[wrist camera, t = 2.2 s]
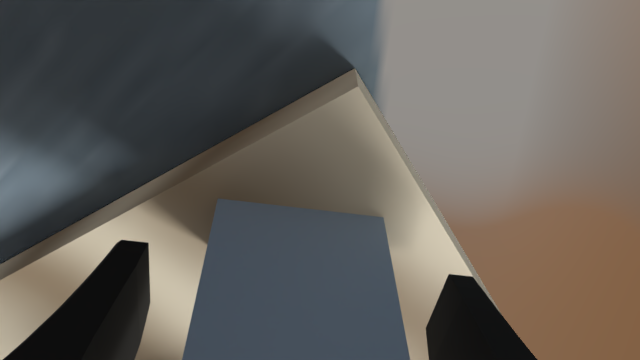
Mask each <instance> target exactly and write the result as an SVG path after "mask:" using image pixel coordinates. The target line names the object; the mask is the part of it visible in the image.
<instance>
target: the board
mask: <svg viewBox="0 0 640 360" xmlns="http://www.w3.org/2000/svg"><path fill="white" fill-rule="evenodd" d="M218 199H227V200H236V201H245V202H253V203H262V204H271V205H280V206H288V207H297V208H306V209H315V210H324V211H332V212H341V213H350V214H359V215H367V216H376V217H383V218H384V223H385V228H386V233H387V239H388V244H389V249H390V255H391V260H392V265H393V271H394V276H395V281H396V287H397V292H398V297H399V303H400V308H401V313H402V319H403V324H404V329H405V335H406V340H407V345H408V351H409V356H410V360H429V356H428V347H427V337H426V326H427V324H428V322H429V319H430V317H431V315H432V312H433V310H434V307H435V305H436V303H437V300H438V298H439V296H440V293H441V291H442V289H443V286H444V284H445V282H446V279H447V277H448V275H449V274H453V275H463V276H473V278H474V279H475V280H476V282H477V283H478V284H479V285H480V287H481V288H482V289H483V291H484V292H485V293H486V295H487V296H488V297H489V299H490V300H491V301H492V303H493V304H494V305H495V303H494V301H493V300H492V298H491V296H490V294H489V293H488V291H487V289H486V288H485V286H484V284H483V283H482V281H481V279H480V278H479V276H478V275H477V273H476V271H475V269H474V268H473V266H472V264H471V263H470V261H469V259H468V257H467V256H466V254H465V253H464V251H463V249H462V247H461V246H460V245H459V242H458V241H457V239H456V237H455V236H454V234H453V232H452V231H451V229H450V227H449V226H448V224H447V222H446V221H445V219H444V217H443V216H442V214H441V212H440V210H439V209H438V207H437V205H436V204H435V202H434V200H433V199H432V197H431V195H430V194H429V192H428V190H427V189H426V187H425V185H424V184H423V182H422V181H421V179H420V177H419V175H418V174H417V172H416V170H415V169H414V167H413V165H412V163H411V162H410V160H409V158H408V157H407V155H406V153H405V152H404V150H403V148H402V147H401V145H400V143H399V142H398V140H397V138H396V137H395V135H394V133H393V131H392V130H391V128H390V126H389V125H388V123H387V121H386V120H385V118H384V116H383V115H382V113H381V111H380V110H379V108H378V106H377V105H376V103H375V101H374V100H373V98H372V96H371V95H370V93H369V91H368V89H367V88H366V86H365V84H364V83H363V81H362V79H361V78H360V76H359V74H358V73H357V71H356V69H355V68H354V69H352V70H351V71H349V72H347V73H345V74H343V75H342V76H340V77H338V78H336V79H334V80H333V81H331V82H329V83H327V84H325V85H324V86H322V87H320V88H318V89H316V90H315V91H313V92H311V93H309V94H307V95H306V96H304V97H302V98H300V99H298V100H296V101H295V102H293V103H291V104H289V105H287V106H286V107H284V108H282V109H280V110H278V111H277V112H275V113H273V114H271V115H269V116H268V117H266V118H264V119H262V120H260V121H259V122H257V123H255V124H253V125H251V126H250V127H248V128H246V129H244V130H242V131H240V132H239V133H237V134H235V135H233V136H231V137H230V138H228V139H226V140H224V141H222V142H221V143H219V144H217V145H215V146H213V147H212V148H210V149H208V150H206V151H204V152H203V153H201V154H199V155H197V156H195V157H193V158H192V159H190V160H188V161H186V162H184V163H183V164H181V165H179V166H177V167H175V168H174V169H172V170H170V171H168V172H166V173H165V174H163V175H161V176H159V177H157V178H156V179H154V180H152V181H150V182H148V183H147V184H145V185H143V186H141V187H139V188H137V189H136V190H134V191H132V192H130V193H128V194H127V195H125V196H123V197H121V198H119V199H118V200H116V201H114V202H112V203H110V204H109V205H107V206H105V207H103V208H101V209H100V210H98V211H96V212H94V213H92V214H91V215H89V216H87V217H85V218H83V219H81V220H80V221H78V222H76V223H74V224H72V225H71V226H69V227H67V228H65V229H63V230H62V231H60V232H58V233H56V234H54V235H53V236H51V237H49V238H47V239H45V240H44V241H42V242H40V243H38V244H36V245H35V246H33V247H31V248H29V249H27V250H25V251H24V252H22V253H20V254H18V255H16V256H15V257H13V258H11V259H9V260H7V261H6V262H4V263H2V264H0V360H3V359H4V358H5V357H6V356H7V355H9V354H10V353H11V352H12V351H13V350H14V349H15V348H17V347H18V346H19V345H20V344H21V343H22V342H23V341H24V340H26V339H27V338H28V337H29V336H30V335H31V334H32V333H33V332H34V331H35V330H36V329H37V328H38V327H39V326H40V325H41V324H43V323H44V322H45V321H46V320H47V319H48V318H49V317H50V316H51V315H52V314H53V313H54V312H55V311H56V310H57V309H58V308H59V307H60V306H61V305H62V304H63V303H64V302H65V301H66V300H67V299H68V298H69V297H70V296H71V295H72V293H73V292H74V291H75V290H76V289H77V288H78V287H79V286H80V285H81V284H82V283H83V282H84V281H85V280H86V278H87V277H88V276H89V275H90V274H91V273H92V272H93V271H94V270H95V268H96V267H97V266H98V265H99V264H100V263H101V261H102V260H103V259H104V258H105V257H106V255H107V254H108V253H109V252H110V251H111V249H112V248H113V247H114V246H115V244H116V243H117V242H119V241H120V240H128V241H138V242H147V243H149V275H150V306H149V311H148V315H147V319H146V323H145V327H144V331H143V335H142V339H141V343H140V346H139V349H138V351H137V354H136V357H135V360H182V358H183V353H184V349H185V344H186V340H187V335H188V331H189V326H190V322H191V317H192V312H193V308H194V303H195V299H196V294H197V290H198V285H199V281H200V276H201V272H202V267H203V263H204V258H205V254H206V249H207V245H208V240H209V236H210V231H211V227H212V222H213V218H214V213H215V209H216V204H217V200H218ZM495 307H496V308H497V306H496V305H495ZM497 309H498V308H497ZM498 311H499V309H498ZM499 312H500V311H499Z"/></svg>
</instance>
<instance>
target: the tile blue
mask: <svg viewBox="0 0 640 360" xmlns="http://www.w3.org/2000/svg"><path fill="white" fill-rule="evenodd" d="M182 360H410V356H409V351H408V345H407V340H406V335H405V329H404V324H403V319H402V313H401V308H400V303H399V297H398V292H397V287H396V281H395V276H394V271H393V265H392V260H391V255H390V249H389V244H388V239H387V233H386V228H385V223H384V218H383V217H376V216H367V215H359V214H350V213H341V212H332V211H324V210H315V209H306V208H297V207H288V206H280V205H271V204H262V203H253V202H245V201H236V200H227V199H218V200H217V204H216V209H215V213H214V218H213V222H212V227H211V231H210V236H209V240H208V245H207V249H206V254H205V258H204V263H203V267H202V272H201V276H200V281H199V285H198V290H197V294H196V299H195V303H194V308H193V312H192V317H191V322H190V326H189V331H188V335H187V340H186V344H185V349H184V353H183V358H182Z"/></svg>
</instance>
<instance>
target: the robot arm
mask: <svg viewBox="0 0 640 360" xmlns="http://www.w3.org/2000/svg"><path fill="white" fill-rule="evenodd" d="M149 306H150V275H149V243H147V242H138V241H128V240H120V241H119V242H117V243H116V244H115V246H114V247H113V248H112V249H111V251H110V252H109V253H108V254H107V255H106V257H105V258H104V259H103V260H102V261H101V263H100V264H99V265H98V266H97V267H96V268H95V270H94V271H93V272H92V273H91V274H90V275H89V276H88V277H87V278H86V280H85V281H84V282H83V283H82V284H81V285H80V286H79V287H78V288H77V289H76V290H75V291H74V292H73V293H72V295H71V296H70V297H69V298H68V299H67V300H66V301H65V302H64V303H63V304H62V305H61V306H60V307H59V308H58V309H57V310H56V311H55V312H54V313H53V314H52V315H51V316H50V317H49V318H48V319H47V320H46V321H45V322H44V323H43V324H41V325H40V326H39V327H38V328H37V329H36V330H35V331H34V332H33V333H32V334H31V335H30V336H29V337H28V338H27V339H26V340H24V341H23V342H22V343H21V344H20V345H19V346H18V347H17V348H15V349H14V350H13V351H12V352H11V353H10V354H9V355H7V356H6V357H5V358H4V359H3V360H135V357H136V354H137V351H138V349H139V346H140V343H141V339H142V335H143V331H144V327H145V323H146V319H147V315H148V311H149ZM426 337H427V347H428V356H429V360H537V359H536V358H535V356H534V355H533V354H532V353H531V352H530V350H529V349H528V348H527V347H526V345H525V344H524V343H523V342H522V340H521V339H520V338H519V337H518V335H517V334H516V333H515V332H514V330H513V329H512V328H511V326H510V325H509V324H508V323H507V321H506V320H505V319H504V317H503V316H502V315H501V313H500V312H499V311H498V309H497V308H496V307H495V305H494V304H493V303H492V301H491V300H490V299H489V297H488V296H487V295H486V293H485V292H484V291H483V289H482V288H481V287H480V285H479V284H478V283H477V282H476V280H475V279H474V278H473V276H463V275H453V274H449V275H448V277H447V279H446V282H445V284H444V286H443V289H442V291H441V293H440V296H439V298H438V300H437V303H436V305H435V307H434V310H433V312H432V315H431V317H430V319H429V322H428V324H427V326H426Z"/></svg>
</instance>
